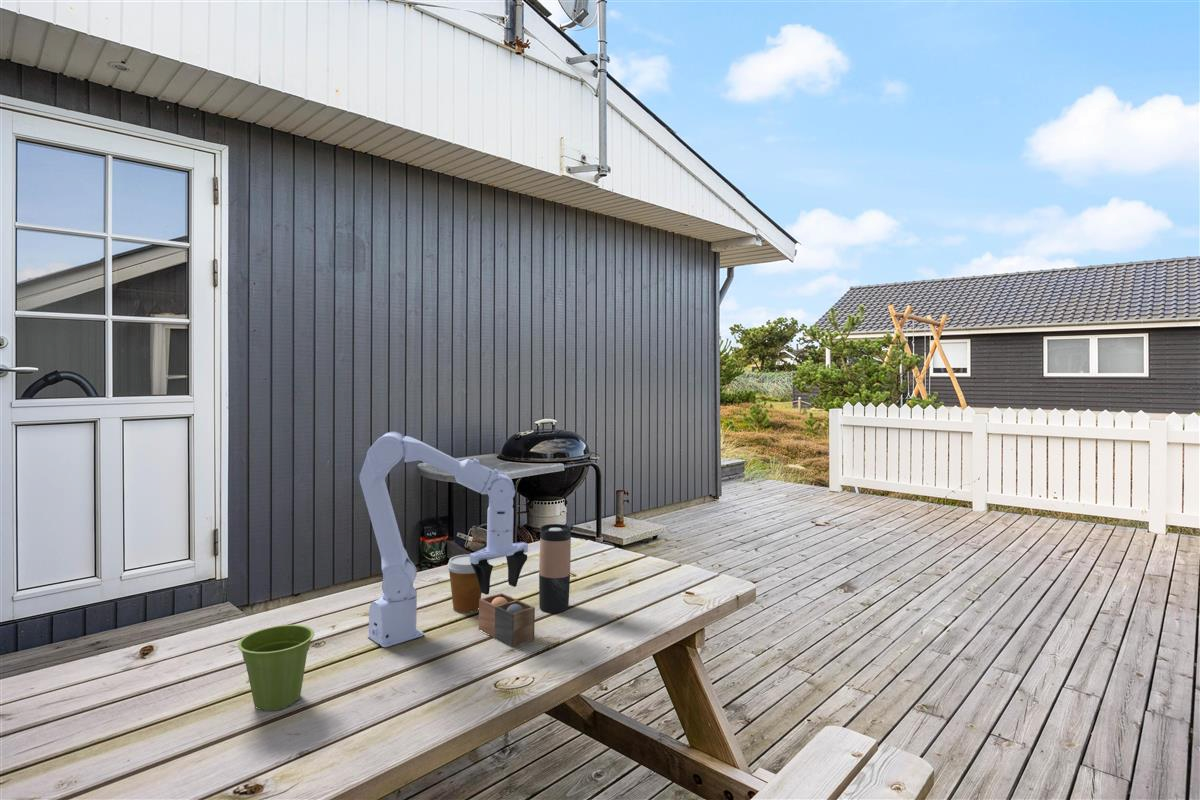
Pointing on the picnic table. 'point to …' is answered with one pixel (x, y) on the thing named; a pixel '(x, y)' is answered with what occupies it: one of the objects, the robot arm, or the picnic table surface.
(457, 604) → the disposable coffee cup
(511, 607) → the charcoal ball
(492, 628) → the divided wooden sorting box
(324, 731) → the picnic table surface
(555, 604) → the travel mug
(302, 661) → the plant pot
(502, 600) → the terracotta ball
